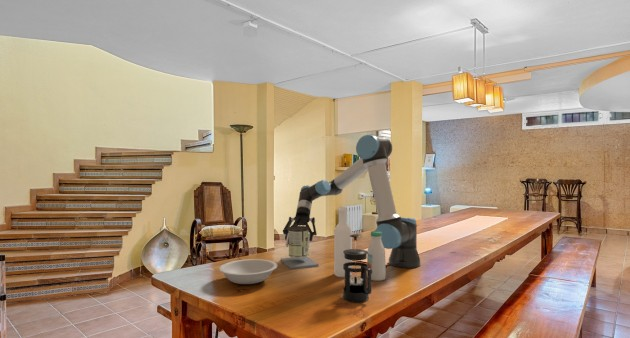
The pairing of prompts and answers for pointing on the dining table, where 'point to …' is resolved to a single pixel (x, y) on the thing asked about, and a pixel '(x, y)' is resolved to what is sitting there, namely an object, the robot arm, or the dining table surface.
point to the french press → (352, 284)
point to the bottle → (341, 243)
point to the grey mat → (299, 262)
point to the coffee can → (298, 241)
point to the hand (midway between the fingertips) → (297, 245)
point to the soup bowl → (248, 270)
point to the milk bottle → (376, 257)
